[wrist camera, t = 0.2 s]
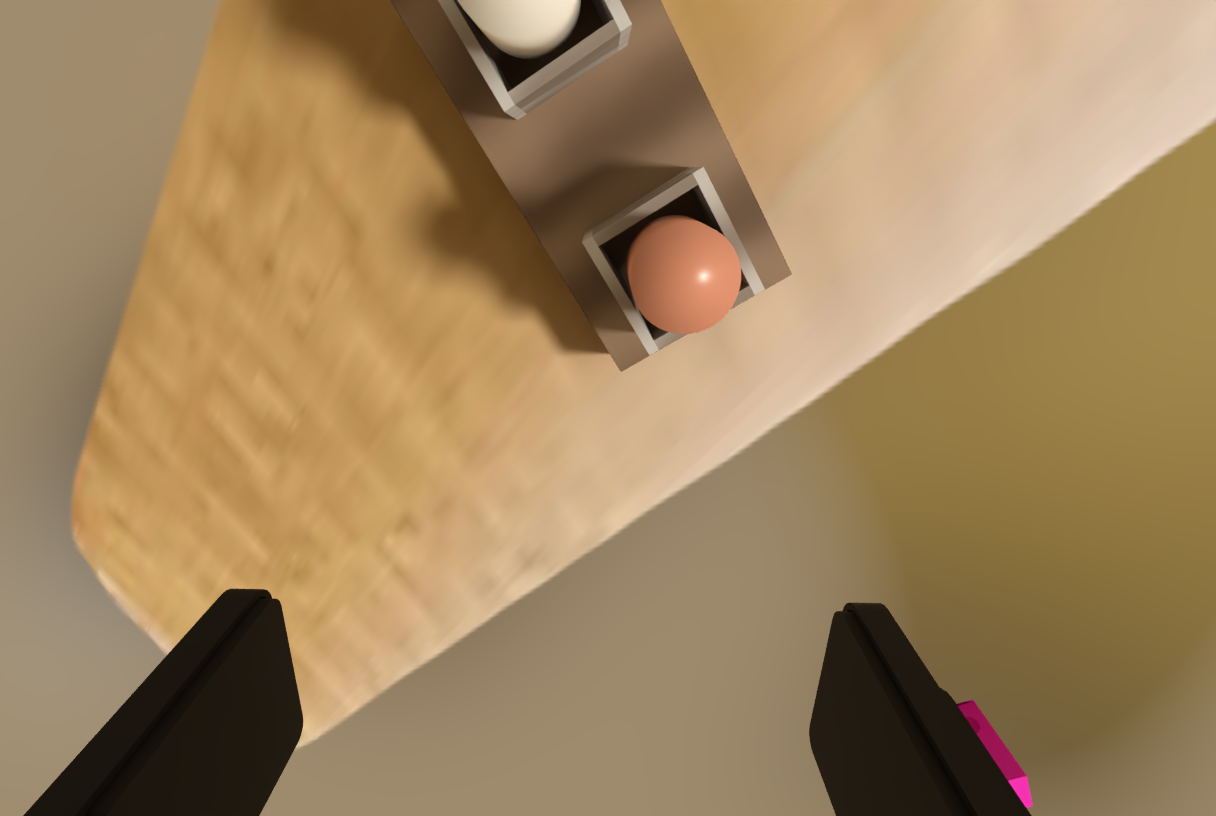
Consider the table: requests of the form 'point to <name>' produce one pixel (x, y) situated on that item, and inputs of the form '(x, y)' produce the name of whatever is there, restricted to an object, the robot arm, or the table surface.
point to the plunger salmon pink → (682, 274)
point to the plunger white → (525, 24)
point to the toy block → (997, 750)
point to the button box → (601, 150)
